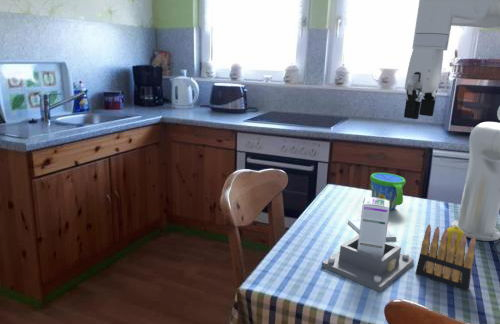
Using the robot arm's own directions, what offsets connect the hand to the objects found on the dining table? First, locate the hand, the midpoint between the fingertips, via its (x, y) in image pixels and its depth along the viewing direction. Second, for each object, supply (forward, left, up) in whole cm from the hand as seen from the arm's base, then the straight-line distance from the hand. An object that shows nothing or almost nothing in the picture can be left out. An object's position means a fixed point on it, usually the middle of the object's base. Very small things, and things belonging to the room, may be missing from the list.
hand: (418, 116), depth 99 cm
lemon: (-3, +12, -34) cm, 36 cm away
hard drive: (-2, -9, -34) cm, 35 cm away
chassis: (+17, 0, -33) cm, 37 cm away
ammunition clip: (+11, +14, -34) cm, 38 cm away
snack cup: (-24, -15, -34) cm, 44 cm away
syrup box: (+17, 0, -32) cm, 37 cm away
